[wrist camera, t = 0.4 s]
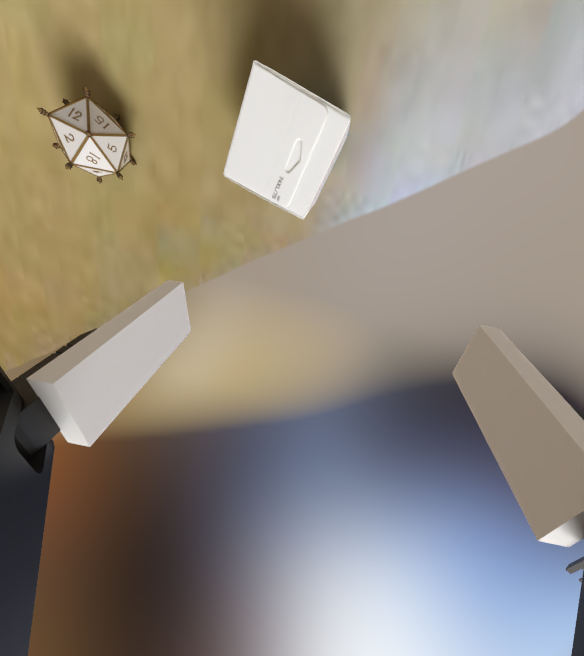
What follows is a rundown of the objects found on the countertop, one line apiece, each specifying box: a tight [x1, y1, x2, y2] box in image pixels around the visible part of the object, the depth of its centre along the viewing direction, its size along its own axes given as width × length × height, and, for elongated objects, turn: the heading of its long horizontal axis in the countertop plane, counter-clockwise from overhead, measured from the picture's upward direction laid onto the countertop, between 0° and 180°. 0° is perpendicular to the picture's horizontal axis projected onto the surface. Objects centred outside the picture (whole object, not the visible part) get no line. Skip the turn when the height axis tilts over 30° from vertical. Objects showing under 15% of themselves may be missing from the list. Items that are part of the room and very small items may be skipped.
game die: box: [37, 86, 137, 183], centre depth 31 cm, size 9×8×10 cm
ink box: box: [223, 60, 350, 219], centre depth 27 cm, size 9×8×12 cm
